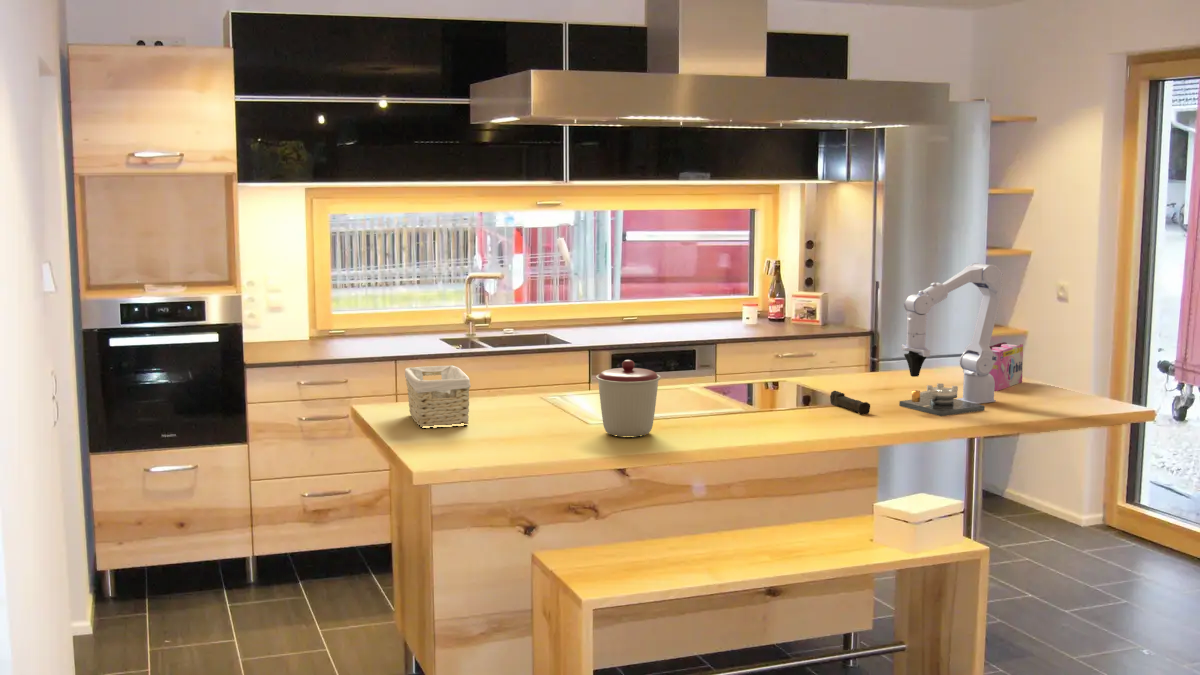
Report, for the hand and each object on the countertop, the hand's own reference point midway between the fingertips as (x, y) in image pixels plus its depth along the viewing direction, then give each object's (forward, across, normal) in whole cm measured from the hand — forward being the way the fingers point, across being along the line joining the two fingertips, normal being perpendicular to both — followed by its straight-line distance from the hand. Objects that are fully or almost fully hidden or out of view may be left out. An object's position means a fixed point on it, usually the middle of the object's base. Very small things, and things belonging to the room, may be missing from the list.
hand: (914, 376), depth 367 cm
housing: (+9, +6, +7) cm, 13 cm away
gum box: (+10, -26, +46) cm, 54 cm away
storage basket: (+10, -12, -148) cm, 149 cm away
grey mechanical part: (+6, +8, +2) cm, 10 cm away
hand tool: (+10, -1, -23) cm, 25 cm away
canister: (+10, +18, -98) cm, 100 cm away
